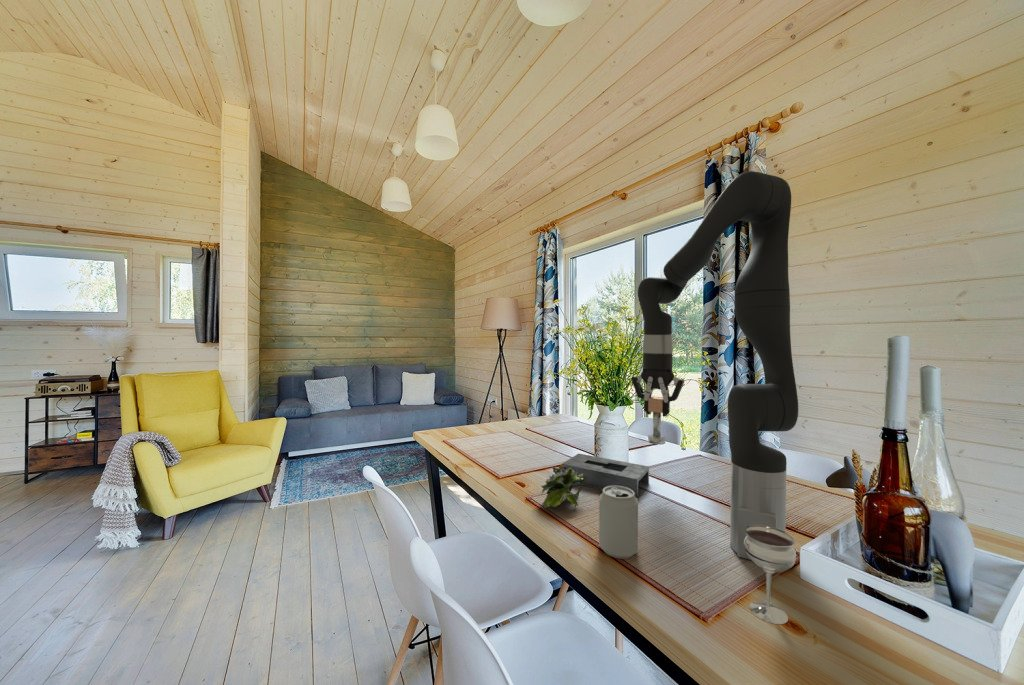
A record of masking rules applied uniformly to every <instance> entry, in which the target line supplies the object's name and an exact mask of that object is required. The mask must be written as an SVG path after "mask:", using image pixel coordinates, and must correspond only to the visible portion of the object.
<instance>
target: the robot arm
mask: <svg viewBox="0 0 1024 685" xmlns="http://www.w3.org/2000/svg"><path fill="white" fill-rule="evenodd" d="M724 188H725V189H724V190H723V191H722V192H721V194H720V195H719V196H718V197H717V199H716V200H715V202H714V203H713V204H712V206H711V208H710V209H709V211H707V213H706V215H705V216H704V217H703V219H702V221H701V222H700V224H699V225H698V227H697V228H696V229H695V230H694V232H693V234H692V235H691V236H690V237H689V238H688V239H687V241H686V242H685V243H684V244H683V246H681V247H680V248H679V250H678V251H677V252H676V253H674V255H673V256H671V258H670V259H669V260H667V262H666V264H665V265H664V267H663V275H664V277H662V276H661V277H658V276H647V277H644V278H643V279H642V280H641V281H640V283H639V285H638V288H637V297H638V298H637V299H638V302H639V306H640V309H641V313H642V317H643V321H644V322H643V341H642V372H641V373H640V375H634V376H632V377H631V382H632V384H633V388H634V390H635V392H636V396H637V397H638V398H639V399H642V400H643V401H644V408H643V410H644V412H645V413H646V415H649V416H650V415H651V414H652V412H649V411H648V400H649V398H650V397H652V396H653V393H654V390H655V389H656V390H660V392H661V395H662V396H661V397H663V400H664V402H663V413H662V417H667V416H668V415H670V409H671V408H670V406H671V402H675V401H676V400H677V399H678V397H679V396H680V393H681V392H682V391H681V390H682V389H683V386H684V384H685V379H684V378H679V377H676V376H675V374H674V372H673V360H674V359H673V353H674V347H673V345H674V344H673V331H672V330H673V319H672V318H673V317H672V315H671V314H670V313H668V312H665V311H663V310H662V309H661V305H662V304H663V305H668V304H671V303H673V302H674V301H676V300H678V298H679V297H680V295H681V294H682V292H683V291H684V289H685V288H686V285H687V284H688V282H689V281H690V280H692V278H694V276H696V275H697V274H698V273H699V272H700V271H701V270H702V269H703V268H704V267H705V266H707V264H708V262H709V261H710V259H711V258H712V255H713V253H714V250H715V247H716V245H717V244H716V243H717V242H718V240H719V238H720V237H721V236H722V234H723V233H724V232H726V231H727V230H728V229H729V228H730V227H732V226H733V225H735V223H737V222H738V221H741V222H747V223H750V229H751V231H750V232H751V248H750V253H749V254H748V255H749V256H748V258H747V260H746V262H745V264H744V265H743V268H742V270H741V271H740V274H739V276H738V278H737V280H736V284H735V287H734V312H735V313H734V314H735V315H734V316H735V320H736V323H737V324H738V327H739V328H740V330H741V332H742V333H743V334H744V336H745V337H746V339H747V340H748V341H749V343H750V344H751V346H752V347H753V348H754V349H755V351H756V353H757V354H758V356H759V359H760V361H761V365H762V370H763V374H764V383H739V384H736V385H734V386H733V387H732V388H731V389H730V390H729V393H728V398H727V420H728V423H727V424H728V442H729V443H728V444H729V448H730V457H731V458H730V465H731V466H730V468H731V469H730V471H731V472H730V521H729V522H730V525H729V526H730V528H729V529H730V536H729V537H730V540H729V542H730V548H732V551H734V552H735V553H736V556H737V557H738V558H743V559H745V560H749V561H752V560H751V559H750V557H749V556H748V555H747V553H746V551H745V548H744V539H745V537H746V533H745V531H744V529H745V527H747V526H750V525H763V526H769V527H773V528H776V529H779V530H781V531H784V532H786V524H787V523H786V522H787V521H786V520H787V518H786V517H787V516H786V514H787V511H786V510H787V457H786V455H785V454H784V452H782V451H780V450H779V449H776V448H773V447H771V446H767V445H765V444H762V443H761V441H760V437H759V432H788V431H791V430H793V428H794V427H795V426H796V424H797V422H798V418H799V397H798V391H797V390H798V388H797V384H796V383H797V382H796V377H795V372H794V371H795V369H794V364H793V355H792V354H793V353H792V342H791V341H792V340H791V299H790V298H791V296H790V295H791V294H790V293H791V292H790V281H789V232H790V231H789V230H790V222H791V210H792V191H791V187H790V185H789V183H788V182H787V181H786V180H785V179H784V178H782V177H779V176H777V175H772V174H768V173H764V172H760V171H751V170H750V171H744V172H742V173H740V174H738V175H737V176H735V177H734V178H733V179H732V180H731V181H730V182H729V183H728V185H727V186H726V187H724ZM660 304H661V305H660ZM642 381H643V382H644V383H645V385H646V386H645V390H643V387H642ZM672 382H673V386H675V387H674V389H673V392H672V394H671V395H670V389H669V386H670V385H671V383H672ZM644 391H645V392H644Z"/></svg>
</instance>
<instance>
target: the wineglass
mask: <svg viewBox="0 0 1024 685" xmlns="http://www.w3.org/2000/svg"><path fill="white" fill-rule="evenodd" d="M744 531H745V533H746V537H745V539H744V548H745V551H746V553H747V555H748V556H749V557H750V559H751V560H750V561H752V562H753V564H755V565H756V566H758V567H759V568H760V569H762V570H763V571H764V572H765V586H766V601H760V600H754V601H752V602H751V603H750V604H749V609H750V611H751V612H752V613H753V615H755V616H756V617H757V618H759V619H761V620H762V621H764V622H767V623H770V624H775V625H783V624H786V623H787V622H788V621H789V617H788V615H787V613H786V612H785V611H784V610H782V609H781V608H780V607H779V606H777V605H774V604H773V603H771V594H772V593H771V591H772V578H773V575H774V574H775V573H783V572H786V571H788V570H790V569H791V568H792V567H794V565H795V564H796V558H797V553H796V549H795V546H796V544H797V540H796V539H795V538H794V537H793V536H792V535H791V534H789V533H787V532H786V531H785V532H784V531H781V530H779V529H776V528H773V527H769V526H763V525H750V526H747V527H745V529H744Z"/></svg>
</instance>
